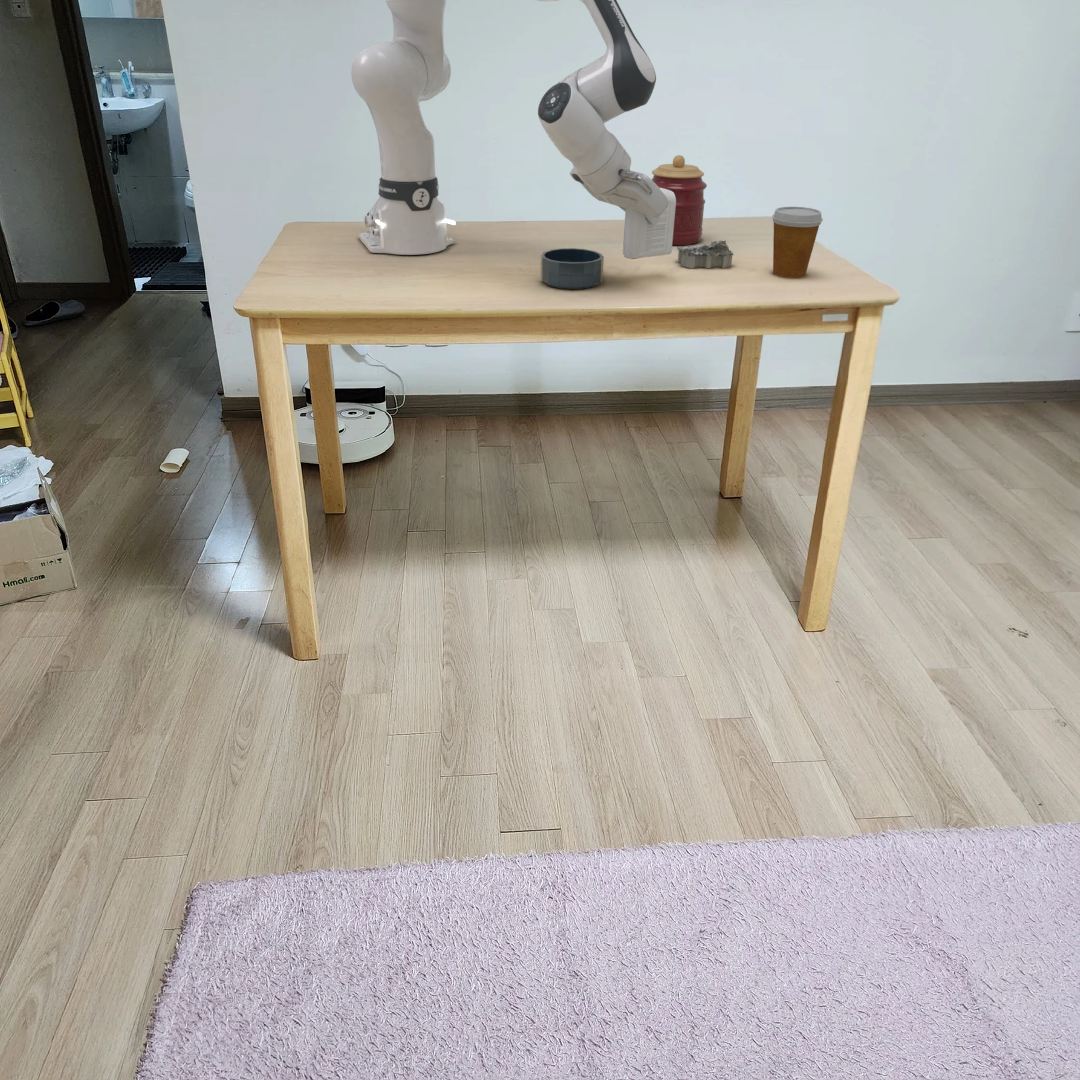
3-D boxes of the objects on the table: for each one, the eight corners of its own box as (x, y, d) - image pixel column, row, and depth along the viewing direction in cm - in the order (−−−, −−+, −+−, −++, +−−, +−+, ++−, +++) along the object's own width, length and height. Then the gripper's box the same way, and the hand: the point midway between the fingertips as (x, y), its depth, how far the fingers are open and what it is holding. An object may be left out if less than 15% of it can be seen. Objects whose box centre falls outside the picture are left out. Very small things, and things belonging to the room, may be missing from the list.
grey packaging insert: (725, 260, 195) (728, 239, 193) (733, 269, 188) (736, 248, 186) (675, 259, 194) (676, 239, 192) (681, 268, 188) (683, 247, 186)
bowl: (529, 278, 179) (530, 252, 177) (580, 271, 185) (581, 245, 182) (561, 293, 171) (562, 266, 168) (613, 285, 176) (615, 258, 173)
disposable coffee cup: (815, 270, 188) (825, 208, 182) (811, 282, 180) (821, 217, 174) (767, 266, 190) (776, 204, 184) (761, 277, 183) (769, 213, 176)
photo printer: (660, 250, 183) (665, 183, 177) (675, 254, 180) (680, 187, 174) (619, 256, 178) (622, 188, 172) (633, 261, 175) (637, 192, 169)
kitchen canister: (632, 240, 209) (638, 155, 200) (660, 230, 218) (666, 149, 209) (685, 248, 202) (692, 161, 193) (711, 238, 212) (720, 154, 203)
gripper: (651, 160, 158) (691, 215, 167) (585, 145, 173) (625, 196, 183) (628, 190, 158) (669, 243, 168) (564, 173, 174) (605, 222, 183)
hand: (646, 219), depth 175 cm, fingers closed on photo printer, 4 cm apart
